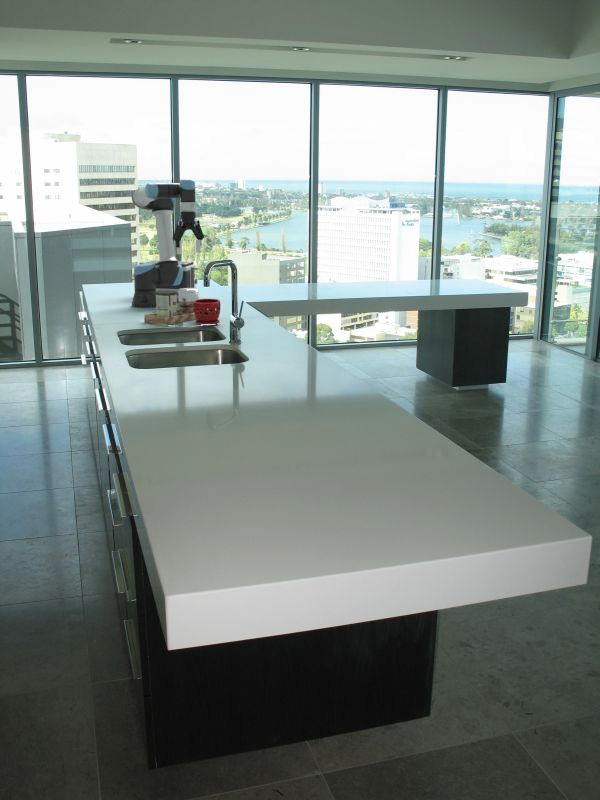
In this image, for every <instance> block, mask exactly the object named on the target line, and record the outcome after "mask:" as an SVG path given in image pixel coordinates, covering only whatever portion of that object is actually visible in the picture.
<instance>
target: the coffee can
mask: <svg viewBox="0 0 600 800" xmlns="http://www.w3.org/2000/svg"><path fill="white" fill-rule="evenodd" d="M155 308H156V311H157V316H162V317H172V316H177V309H178V300H177V292H176V291H157V292H156V307H155Z"/></svg>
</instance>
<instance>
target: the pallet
mask: <svg viewBox="0 0 600 800" xmlns="http://www.w3.org/2000/svg"><path fill="white" fill-rule="evenodd" d="M143 315H144V316H143V317H144V323H145V324H150V325H158V326H163V325H165V326H164V327H169V326H168V325H171V326H175V325H174V324H177V323H182V322H189V321H196V320H197V319H196V317H195V314H194V313H191V314H186V313H180V312H179V308H177V316H172V317H162V316H157V313H146V314H143Z"/></svg>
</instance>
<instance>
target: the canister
mask: <svg viewBox="0 0 600 800" xmlns="http://www.w3.org/2000/svg"><path fill="white" fill-rule="evenodd" d="M198 299H199V288H197V287H196V288H181V289H178V300H177V307H178V309H179V312H180V313H186V314H191V313H194V308H193V301H195V300H198Z"/></svg>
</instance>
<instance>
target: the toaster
mask: <svg viewBox="0 0 600 800" xmlns="http://www.w3.org/2000/svg"><path fill="white" fill-rule="evenodd" d="M158 261H159V260H154V259H153V260H149V259H147V260H145V261H141V262H139V264H143V263H155V265H157V262H158ZM178 264H180V265H182V269H183V276H182V280H181V283H180V284H179V285H176V286H156V292H157V291H176V292H177V299H178V289H181V288H196V289H197V286H196V285H198V279H197V278H196V271H198V270H199V269H200V268H199V267H196V264H194V261H186V260H185V261H183V260H178Z"/></svg>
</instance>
